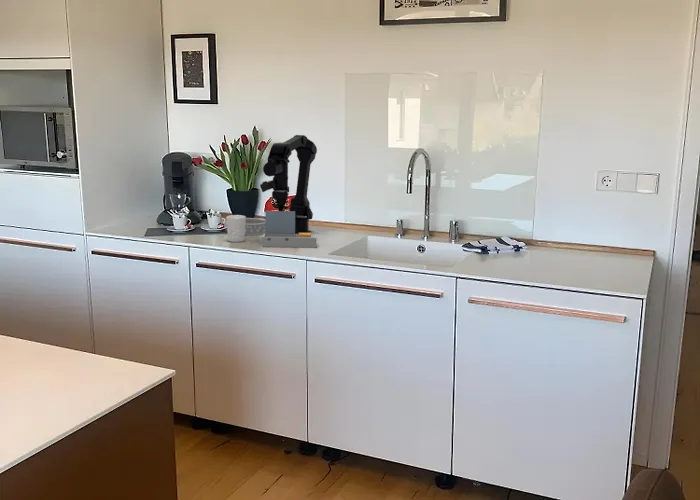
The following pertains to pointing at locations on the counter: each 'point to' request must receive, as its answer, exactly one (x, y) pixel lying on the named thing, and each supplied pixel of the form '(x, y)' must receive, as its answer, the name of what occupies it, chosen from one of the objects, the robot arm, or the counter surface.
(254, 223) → the dog bowl
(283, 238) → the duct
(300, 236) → the mustard yellow box
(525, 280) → the counter surface
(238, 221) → the white cup
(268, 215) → the panel
